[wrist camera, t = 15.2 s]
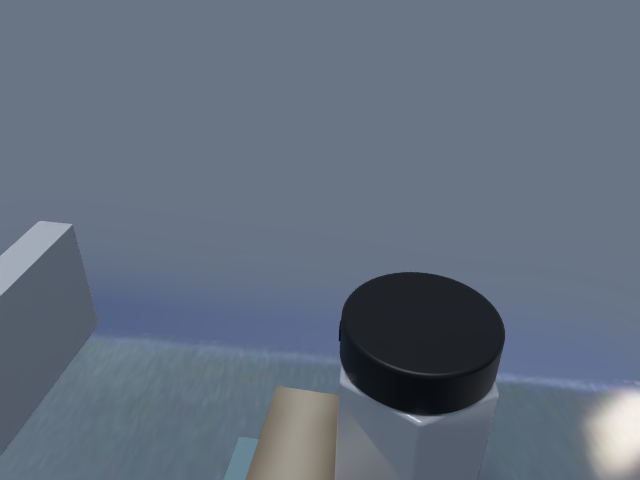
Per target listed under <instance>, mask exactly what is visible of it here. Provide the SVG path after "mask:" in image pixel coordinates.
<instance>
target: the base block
mask: <svg viewBox="0 0 640 480" xmlns="http://www.w3.org/2000/svg"><path fill="white" fill-rule="evenodd" d="M338 397H339V395H332V394H326V393H319V392H313V391H306V390H300V389H293V388H287V387H280V386H276V389H275V392H274V395H273V398H272V401H271V404H270V407H269V410H268V413H267V416H266V419H265V422H264V425H263V428H262V431H261V434H260V437H259V440H258V443H257V446H256V449H255V452H254V455H253V458H252V461H251V464H250V467H249V470H248V473H247V476H246V479H245V480H334V476H335V456H336V436H337V416H338Z"/></svg>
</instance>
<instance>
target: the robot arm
mask: <svg viewBox="0 0 640 480" xmlns="http://www.w3.org/2000/svg"><path fill="white" fill-rule="evenodd" d="M98 325H99V323H98V319H97V316H96V312H95V308H94V304H93V300H92V296H91V293H90V289H89V285H88V281H87V277H86V273H85V270H84V266H83V262H82V258H81V254H80V250H79V247H78V243H77V239H76V235H75V231H74V227H73V225H72V224H64V223H55V222H46V221H39V222H38V223H37V224H35V225H34V226H33V227H32V228H31V229H30V230H29V231H28V232H27V233H25V235H23V236H22V237H21V238H20V239H19V240H18V241H17V242H16V243H15V244H13V245H12V246H11V247H10V248H9V249H8V250H7V251H6V252H4V253H3V254H2V255H1V256H0V456H1V455H2V453H3V452H4V451H5V449H6V448H7V447H8V445H9V444H10V443H11V441H12V440H13V439H14V437H15V436H16V435H17V433H18V432H19V431H20V429H21V428H22V427H23V425H24V424H25V423H26V421H27V420H28V419H29V417H30V416H31V415H32V413H33V412H34V411H35V409H36V408H37V407H38V405H39V404H40V403H41V401H42V400H43V399H44V397H45V396H46V395H47V393H48V392H49V391H50V389H51V388H52V387H53V385H54V384H55V383H56V381H57V380H58V379H59V377H60V376H61V374H62V373H63V372H64V370H65V369H66V368H67V366H68V365H69V364H70V362H71V361H72V360H73V358H74V357H75V356H76V354H77V353H78V352H79V350H80V349H81V348H82V346H83V345H84V344H85V342H86V341H87V340H88V338H89V337H90V336H91V334H92V333H93V332H94V330H95V329H96V328H97V326H98Z"/></svg>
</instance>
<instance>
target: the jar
mask: <svg viewBox="0 0 640 480" xmlns="http://www.w3.org/2000/svg"><path fill="white" fill-rule="evenodd" d="M339 341H340V358H341V369H340V379H339V397H338V416H337V436H336V456H335V476H334V480H478V477H479V473H480V469H481V465H482V461H483V457H484V453H485V449H486V445H487V441H488V437H489V433H490V429H491V425H492V421H493V417H494V413H495V409H496V405H497V401H498V397H499V394H498V389H497V384H496V379H495V378H496V375H497V371H498V367H499V362H500V358H501V354H502V350H503V346H504V341H505V329H504V324H503V322H502V319H501V317H500V315H499V313H498V312H497V310H496V309H495V308H494V306H493V305H492V304H491V303H490V302H489V301H488V300H487V299H486V298H485V297H484V296H482V295H481V294H480V293H478V292H477V291H475V290H474V289H472V288H471V287H469V286H467V285H465V284H463V283H460V282H458V281H455V280H453V279H450V278H446V277H443V276H439V275H434V274H428V273H419V272H402V273H393V274H388V275H384V276H380V277H377V278H375V279H372V280H370V281H368V282H366V283H364V284H362V285H361V286H359V287H358V288H357V289H356V290H355V291H354V292H353V293H352V294H351V295H350V296H349V298H348V299H347V300H346V302H345V304H344V307H343V310H342V318H341V321H340V327H339Z"/></svg>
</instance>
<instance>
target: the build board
mask: <svg viewBox="0 0 640 480" xmlns="http://www.w3.org/2000/svg"><path fill="white" fill-rule="evenodd" d="M257 443H258V439H252V438H246V437H239V439H238V442H237V445H236V448H235V450H234V453H233V456H232V458H231V461H230V464H229V467H228V469H227V472H226V475H225V477H224V480H245V479H246V476H247V473H248V470H249V467H250V464H251V461H252V458H253V455H254V452H255V449H256V446H257Z"/></svg>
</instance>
